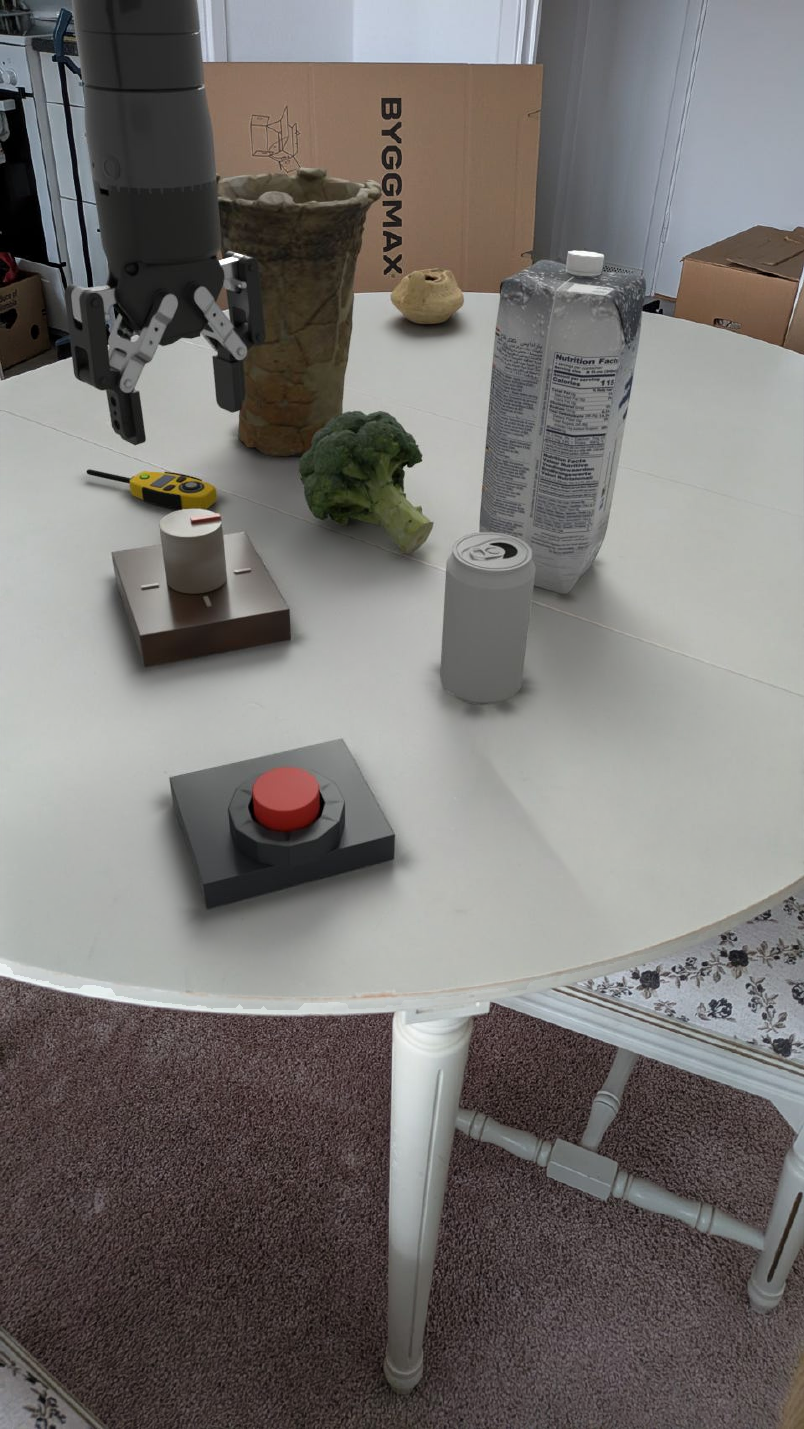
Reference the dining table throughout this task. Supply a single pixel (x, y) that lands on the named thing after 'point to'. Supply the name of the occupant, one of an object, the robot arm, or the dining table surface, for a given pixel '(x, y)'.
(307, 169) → the vase
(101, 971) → the dining table surface
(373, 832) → the button block
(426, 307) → the oil lamp
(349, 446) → the vegetable
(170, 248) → the robot arm
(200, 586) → the knob
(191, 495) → the yellow walkie talkie
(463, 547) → the beverage can
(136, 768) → the dining table surface
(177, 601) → the panel
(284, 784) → the button
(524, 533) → the juice carton
